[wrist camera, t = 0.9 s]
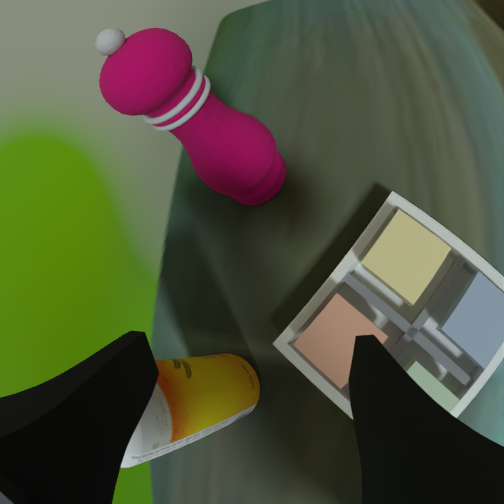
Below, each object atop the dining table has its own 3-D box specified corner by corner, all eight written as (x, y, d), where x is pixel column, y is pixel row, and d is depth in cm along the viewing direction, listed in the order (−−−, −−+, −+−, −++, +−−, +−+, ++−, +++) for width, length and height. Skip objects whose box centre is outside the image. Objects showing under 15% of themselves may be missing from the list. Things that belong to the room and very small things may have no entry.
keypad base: (520, 308, 14) (533, 306, 12) (405, 452, 16) (406, 465, 14) (392, 203, 21) (392, 190, 19) (283, 342, 23) (272, 343, 21)
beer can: (232, 338, 25) (82, 339, 12) (277, 388, 22) (142, 447, 9) (194, 380, 26) (53, 399, 13) (234, 427, 23) (99, 485, 10)
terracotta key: (388, 335, 18) (388, 336, 16) (345, 382, 18) (340, 389, 16) (341, 295, 20) (336, 292, 18) (301, 342, 20) (292, 344, 19)
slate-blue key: (509, 312, 14) (521, 311, 12) (475, 364, 14) (484, 369, 12) (469, 276, 16) (478, 270, 14) (435, 328, 16) (441, 329, 14)
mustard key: (445, 255, 17) (451, 248, 15) (410, 306, 18) (413, 305, 16) (398, 220, 19) (398, 209, 17) (363, 268, 20) (360, 262, 18)
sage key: (453, 392, 14) (460, 400, 13) (409, 438, 15) (410, 450, 13) (412, 356, 17) (415, 360, 15) (369, 403, 17) (367, 412, 15)
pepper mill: (237, 145, 30) (102, 19, 13) (299, 147, 26) (173, -26, 9) (216, 206, 29) (44, 98, 12) (280, 216, 26) (97, 59, 8)
